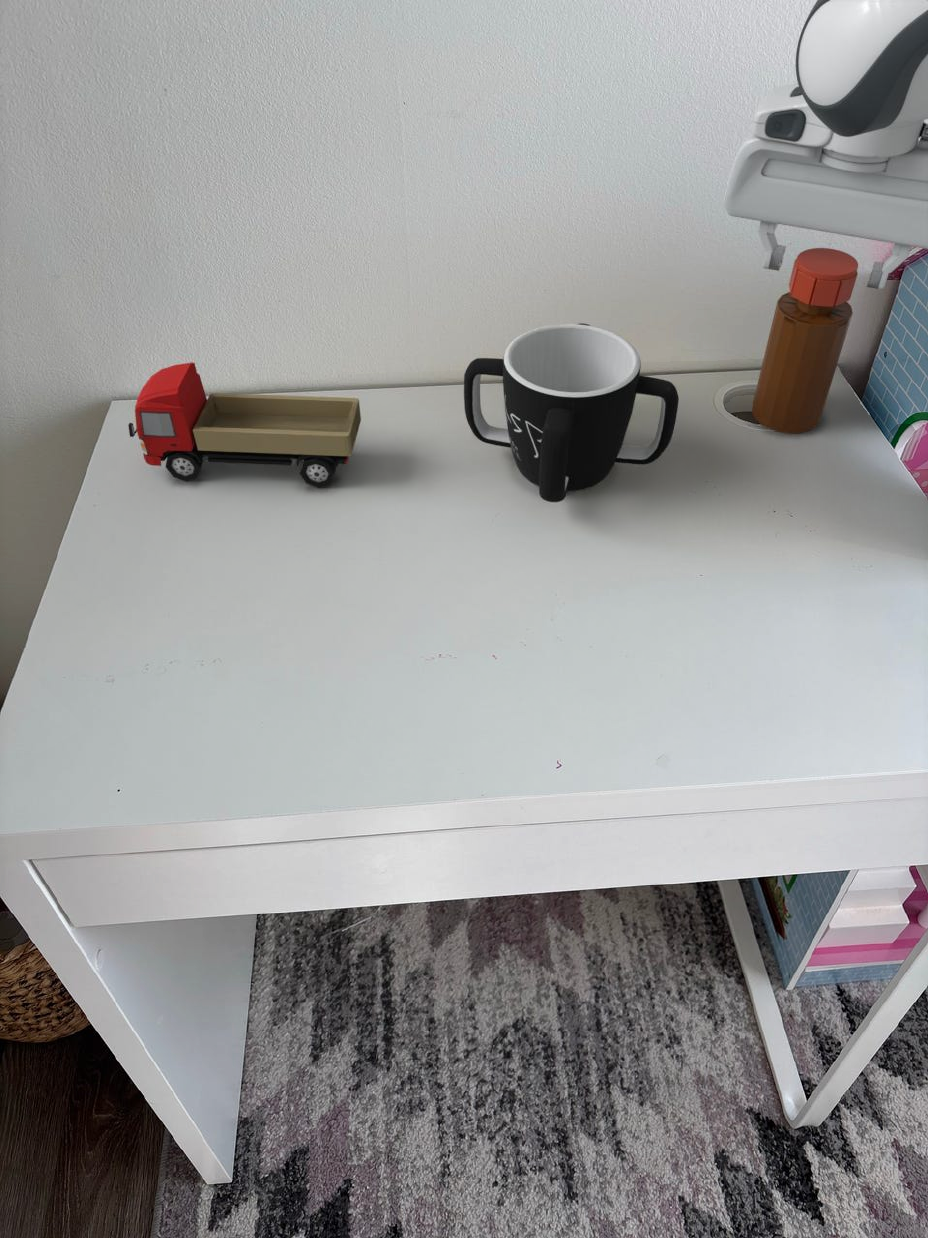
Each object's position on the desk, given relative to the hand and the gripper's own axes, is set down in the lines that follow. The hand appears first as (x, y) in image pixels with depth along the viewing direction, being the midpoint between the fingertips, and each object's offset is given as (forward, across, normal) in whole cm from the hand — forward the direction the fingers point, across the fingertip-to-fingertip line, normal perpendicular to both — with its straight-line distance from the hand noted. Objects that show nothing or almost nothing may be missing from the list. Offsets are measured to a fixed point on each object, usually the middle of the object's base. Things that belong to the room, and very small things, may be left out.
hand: (823, 276), depth 89 cm
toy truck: (+15, +46, +29) cm, 56 cm away
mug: (+15, +18, +17) cm, 29 cm away
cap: (+2, 0, 0) cm, 2 cm away
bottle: (+15, 0, 0) cm, 15 cm away
